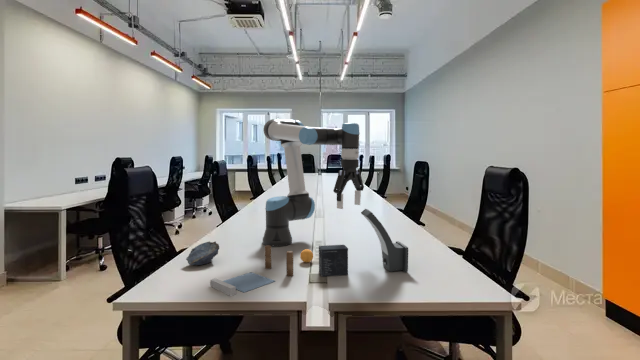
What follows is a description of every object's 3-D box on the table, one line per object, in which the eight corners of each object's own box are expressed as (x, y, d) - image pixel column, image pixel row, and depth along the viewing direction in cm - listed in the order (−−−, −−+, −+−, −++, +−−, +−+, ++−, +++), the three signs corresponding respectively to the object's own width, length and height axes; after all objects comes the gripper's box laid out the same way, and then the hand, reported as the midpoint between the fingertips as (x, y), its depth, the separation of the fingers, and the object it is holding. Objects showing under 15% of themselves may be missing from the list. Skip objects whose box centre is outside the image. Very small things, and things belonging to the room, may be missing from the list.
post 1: (263, 268, 146) (263, 246, 146) (268, 266, 148) (268, 244, 148) (267, 269, 145) (267, 247, 144) (272, 267, 147) (272, 246, 146)
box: (344, 269, 145) (344, 244, 144) (348, 275, 139) (348, 248, 138) (318, 271, 143) (318, 245, 142) (321, 276, 137) (321, 249, 136)
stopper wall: (210, 286, 127) (210, 279, 126) (215, 284, 128) (215, 278, 128) (230, 295, 119) (230, 288, 118) (235, 294, 120) (235, 286, 120)
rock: (226, 259, 158) (210, 251, 163) (223, 244, 154) (207, 236, 159) (197, 280, 147) (181, 271, 151) (194, 265, 143) (177, 256, 148)
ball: (297, 262, 154) (297, 249, 154) (306, 259, 158) (306, 246, 158) (307, 265, 150) (307, 252, 150) (315, 261, 155) (315, 249, 154)
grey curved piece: (358, 266, 150) (359, 207, 148) (398, 263, 152) (399, 206, 150) (366, 275, 139) (367, 212, 137) (408, 272, 142) (410, 211, 140)
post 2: (285, 275, 138) (284, 252, 137) (289, 273, 140) (289, 250, 139) (289, 276, 136) (289, 253, 136) (294, 275, 138) (294, 252, 138)
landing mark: (220, 282, 131) (220, 281, 131) (251, 272, 141) (251, 272, 141) (243, 292, 121) (243, 292, 121) (275, 281, 132) (275, 280, 132)
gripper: (340, 159, 147) (339, 211, 149) (372, 158, 166) (370, 204, 168) (325, 159, 152) (324, 209, 154) (358, 157, 171) (357, 202, 173)
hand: (348, 206), depth 161 cm, fingers open, 13 cm apart
